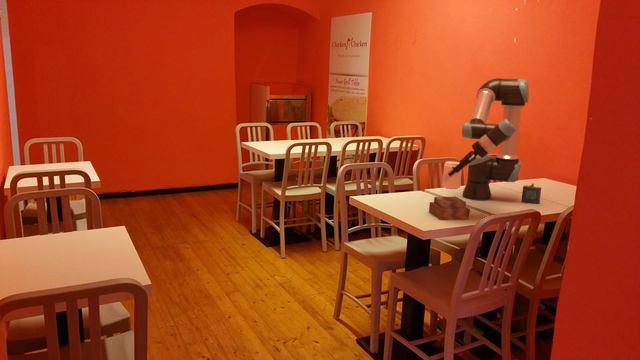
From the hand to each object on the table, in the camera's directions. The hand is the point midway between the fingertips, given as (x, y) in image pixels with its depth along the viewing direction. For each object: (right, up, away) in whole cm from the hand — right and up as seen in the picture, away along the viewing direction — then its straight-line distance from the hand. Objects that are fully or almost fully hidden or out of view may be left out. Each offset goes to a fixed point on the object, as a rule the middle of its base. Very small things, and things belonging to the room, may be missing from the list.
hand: (444, 177), depth 245 cm
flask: (+54, -14, +34) cm, 66 cm away
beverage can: (+3, -5, 0) cm, 6 cm away
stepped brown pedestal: (+3, -18, +3) cm, 18 cm away
